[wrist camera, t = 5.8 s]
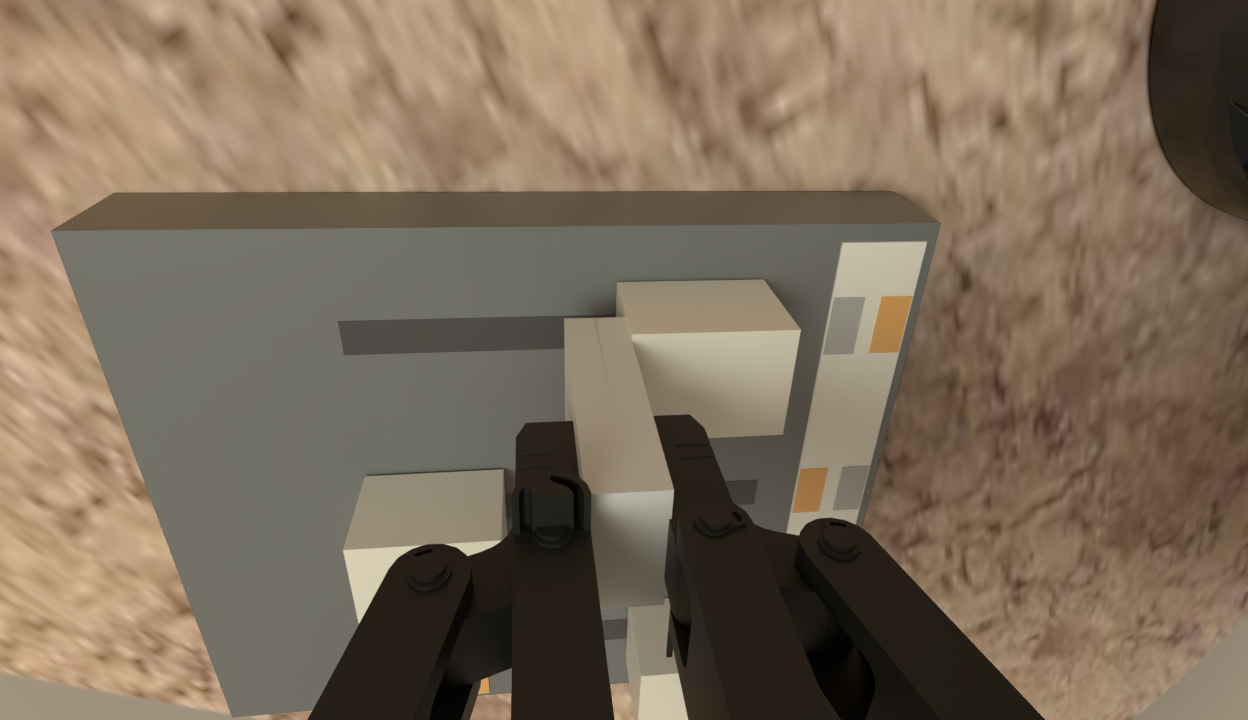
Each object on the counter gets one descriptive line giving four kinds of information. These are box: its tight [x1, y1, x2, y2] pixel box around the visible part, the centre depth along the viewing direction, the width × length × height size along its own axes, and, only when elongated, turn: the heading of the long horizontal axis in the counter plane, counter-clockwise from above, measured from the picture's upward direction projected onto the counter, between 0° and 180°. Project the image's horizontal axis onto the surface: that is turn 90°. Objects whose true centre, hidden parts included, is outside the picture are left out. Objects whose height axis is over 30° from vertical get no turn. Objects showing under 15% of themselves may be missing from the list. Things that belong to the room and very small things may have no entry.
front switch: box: [616, 279, 801, 438], centre depth 19 cm, size 4×3×3 cm
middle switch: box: [343, 469, 508, 623], centre depth 21 cm, size 4×3×3 cm
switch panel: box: [51, 191, 941, 717], centre depth 24 cm, size 22×18×3 cm
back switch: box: [626, 598, 688, 720], centre depth 25 cm, size 4×3×3 cm
